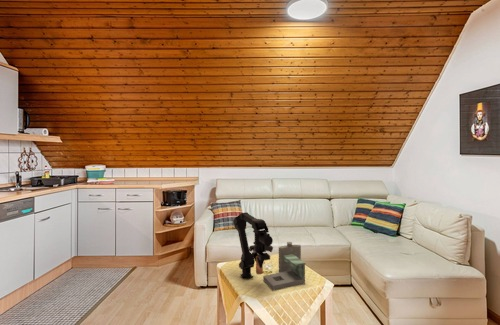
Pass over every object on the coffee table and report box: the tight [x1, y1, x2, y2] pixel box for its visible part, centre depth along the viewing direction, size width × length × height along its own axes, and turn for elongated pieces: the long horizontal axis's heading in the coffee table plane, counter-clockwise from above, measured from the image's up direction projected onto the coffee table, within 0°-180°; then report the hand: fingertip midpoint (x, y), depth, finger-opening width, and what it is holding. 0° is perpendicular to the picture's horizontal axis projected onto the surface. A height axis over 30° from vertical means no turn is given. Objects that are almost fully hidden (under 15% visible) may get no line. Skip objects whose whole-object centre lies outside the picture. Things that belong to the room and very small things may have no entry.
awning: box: [283, 254, 306, 280], centre depth 180 cm, size 15×7×10 cm, turn 22°
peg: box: [255, 256, 264, 275], centre depth 171 cm, size 4×4×10 cm
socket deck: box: [262, 270, 306, 292], centre depth 178 cm, size 14×22×3 cm, turn 112°
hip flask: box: [278, 241, 302, 273], centre depth 193 cm, size 16×4×20 cm, turn 105°
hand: (259, 266), depth 171 cm, fingers closed on peg, 4 cm apart
